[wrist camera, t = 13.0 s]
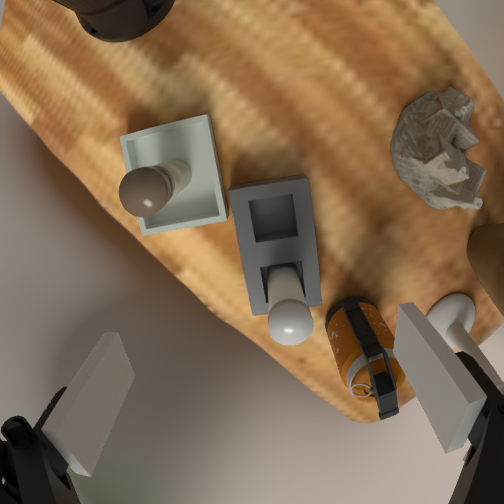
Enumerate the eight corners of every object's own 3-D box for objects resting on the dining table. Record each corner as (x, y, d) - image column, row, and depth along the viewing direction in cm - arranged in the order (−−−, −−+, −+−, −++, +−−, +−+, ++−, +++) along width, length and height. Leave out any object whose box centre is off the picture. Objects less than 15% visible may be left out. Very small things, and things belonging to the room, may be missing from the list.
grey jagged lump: (435, 223, 44) (493, 249, 30) (369, 145, 41) (420, 140, 27) (485, 158, 41) (547, 164, 27) (427, 80, 38) (486, 59, 24)
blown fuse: (156, 162, 41) (114, 174, 28) (189, 154, 41) (159, 162, 28) (163, 195, 43) (125, 221, 30) (196, 188, 43) (170, 212, 30)
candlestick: (411, 318, 50) (496, 447, 22) (467, 280, 48) (572, 382, 20) (427, 361, 54) (493, 477, 26) (477, 327, 52) (558, 425, 23)
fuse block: (229, 186, 43) (226, 190, 39) (303, 174, 43) (308, 178, 39) (251, 302, 49) (251, 316, 46) (317, 292, 49) (322, 305, 45)
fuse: (262, 260, 46) (265, 311, 33) (296, 255, 46) (311, 304, 32) (267, 290, 47) (271, 348, 34) (300, 285, 47) (315, 341, 34)
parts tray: (128, 136, 41) (119, 136, 38) (210, 115, 40) (206, 114, 37) (148, 229, 45) (142, 235, 43) (228, 215, 45) (227, 220, 42)
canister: (331, 347, 52) (358, 438, 34) (314, 295, 49) (343, 384, 30) (380, 329, 51) (424, 412, 32) (368, 275, 48) (422, 353, 29)
